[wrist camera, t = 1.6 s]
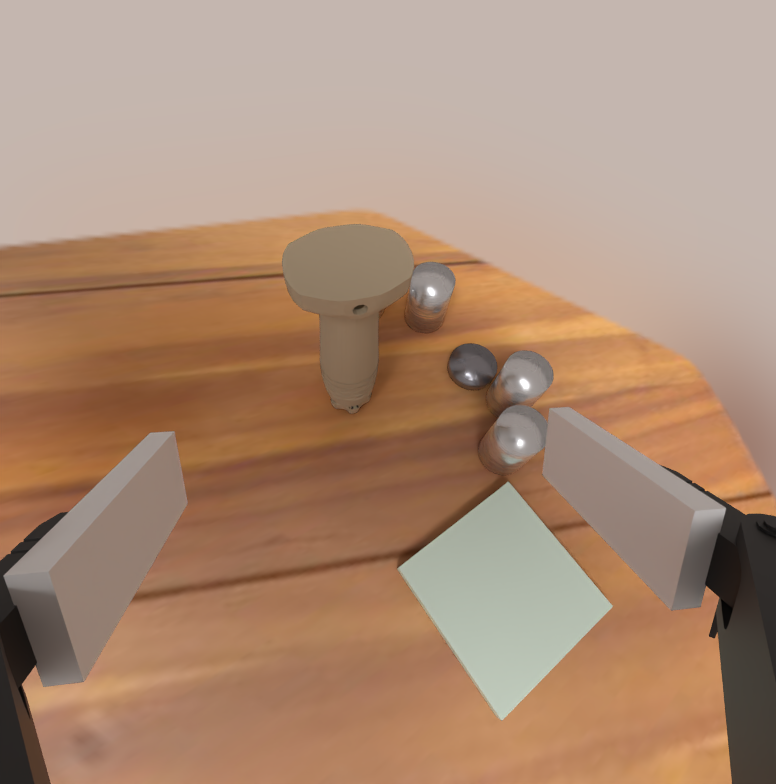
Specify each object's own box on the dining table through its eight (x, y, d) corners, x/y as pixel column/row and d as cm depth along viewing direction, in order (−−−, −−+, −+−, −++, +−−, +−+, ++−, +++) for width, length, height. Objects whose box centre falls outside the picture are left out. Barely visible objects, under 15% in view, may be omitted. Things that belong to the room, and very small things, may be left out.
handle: (396, 415, 34) (425, 288, 20) (315, 432, 33) (291, 310, 19) (380, 364, 36) (398, 218, 22) (304, 378, 35) (275, 234, 21)
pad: (396, 569, 29) (398, 567, 28) (504, 485, 32) (508, 481, 31) (496, 716, 25) (501, 720, 24) (604, 606, 29) (612, 606, 28)
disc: (437, 365, 36) (439, 358, 35) (471, 343, 38) (475, 335, 37) (468, 400, 35) (471, 393, 34) (502, 376, 36) (507, 369, 35)
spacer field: (338, 301, 38) (336, 261, 34) (406, 267, 41) (413, 225, 36) (491, 490, 32) (514, 470, 27) (562, 434, 34) (594, 408, 30)
